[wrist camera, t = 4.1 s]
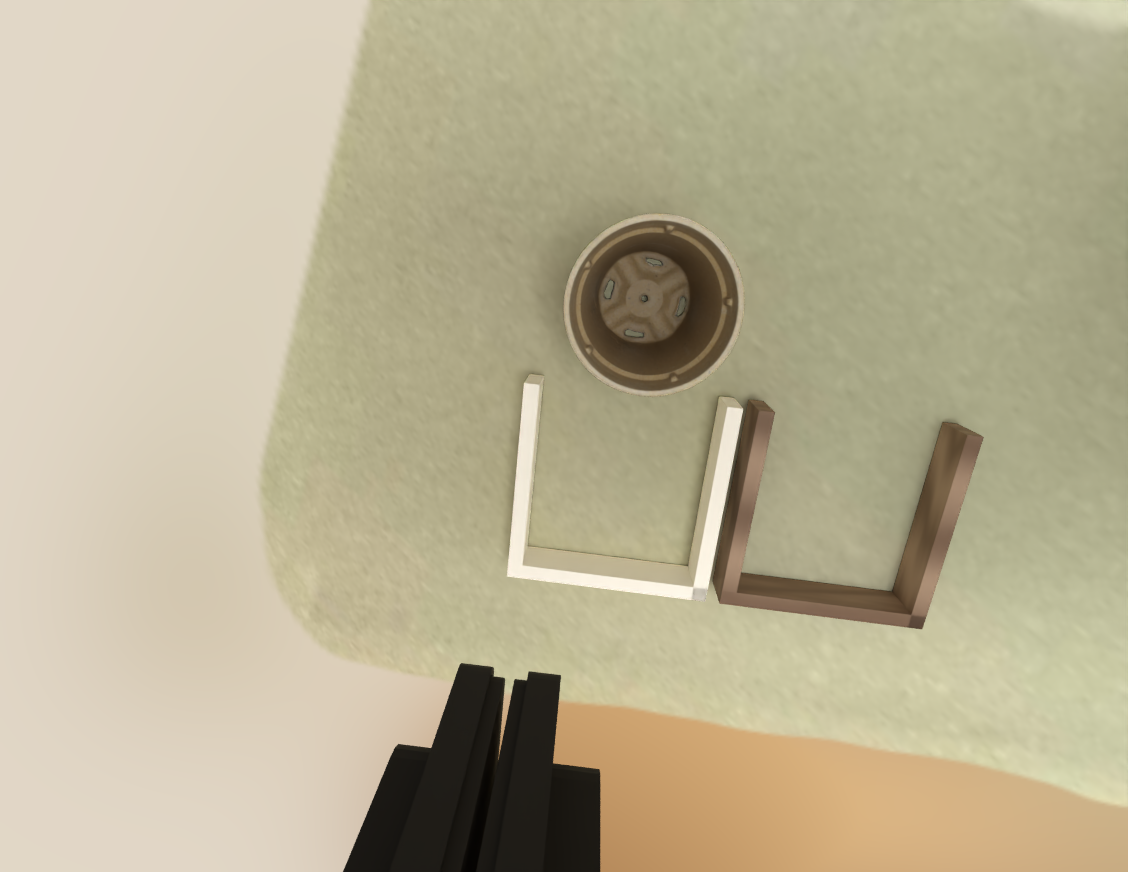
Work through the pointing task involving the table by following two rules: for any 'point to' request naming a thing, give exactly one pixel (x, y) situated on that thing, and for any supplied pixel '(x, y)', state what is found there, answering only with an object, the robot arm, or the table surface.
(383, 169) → the table surface
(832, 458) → the table surface
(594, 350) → the flower pot
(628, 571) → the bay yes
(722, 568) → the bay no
